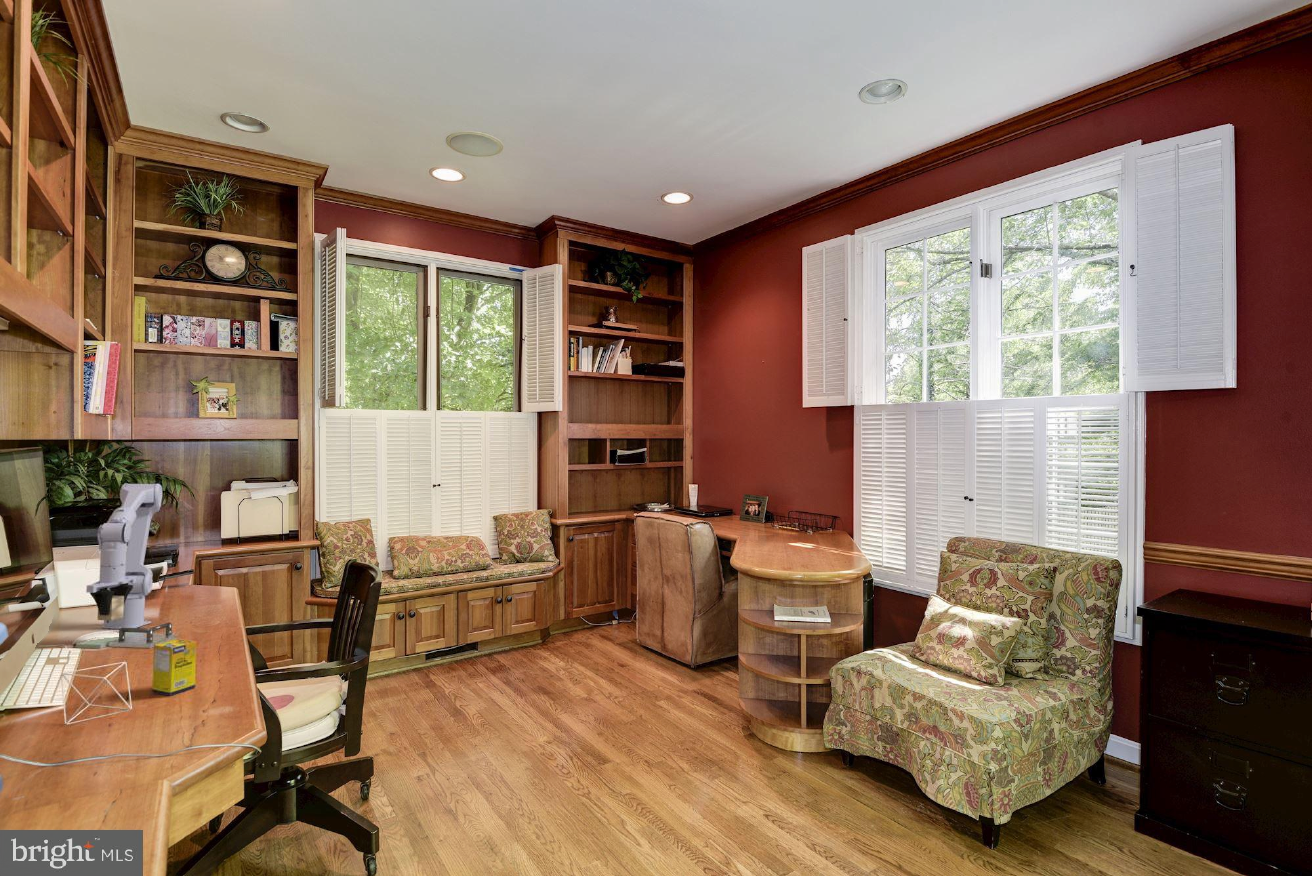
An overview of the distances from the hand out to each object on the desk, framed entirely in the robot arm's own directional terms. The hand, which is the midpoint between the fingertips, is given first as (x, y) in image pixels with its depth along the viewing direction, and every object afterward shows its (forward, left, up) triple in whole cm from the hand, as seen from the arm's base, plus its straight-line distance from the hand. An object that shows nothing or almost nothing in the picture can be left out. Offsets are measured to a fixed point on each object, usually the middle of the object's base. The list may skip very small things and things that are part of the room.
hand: (111, 613), depth 191 cm
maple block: (0, 0, -2) cm, 2 cm away
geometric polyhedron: (+39, -48, -8) cm, 62 cm away
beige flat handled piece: (+10, +1, -8) cm, 13 cm away
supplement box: (+45, -34, -8) cm, 57 cm away
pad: (0, 0, -8) cm, 8 cm away
